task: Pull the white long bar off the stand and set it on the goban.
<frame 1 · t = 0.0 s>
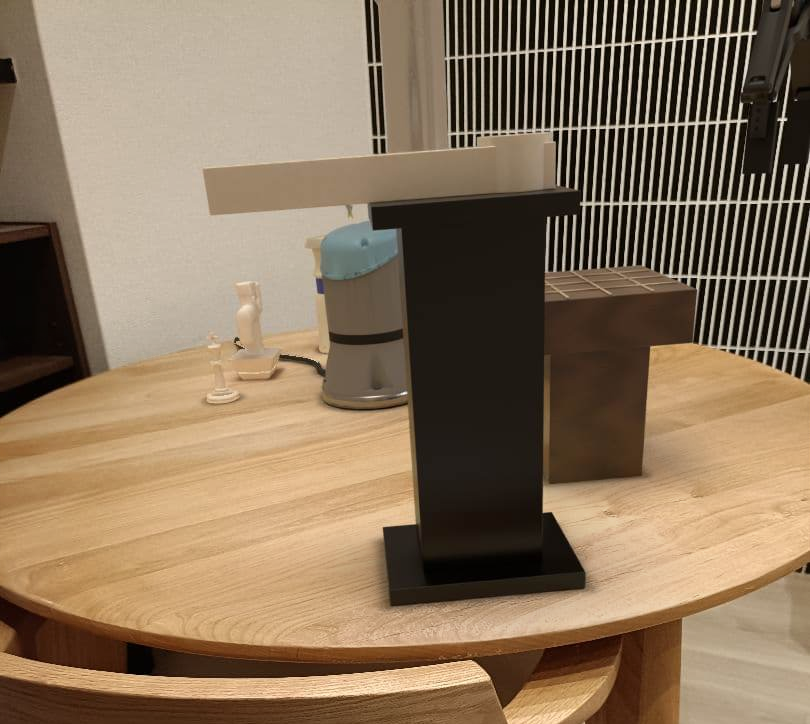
hand: (776, 169, 89), 28 cm above the table, tool pointing down, fingers open, 13 cm apart
white long bar: (382, 200, 58), point 30 cm above the table, touching stand
goban: (583, 463, 91), on the table
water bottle: (340, 349, 149), on the table
stand: (477, 562, 72), on the table
figurine: (259, 376, 135), on the table
chess piece: (223, 400, 124), on the table
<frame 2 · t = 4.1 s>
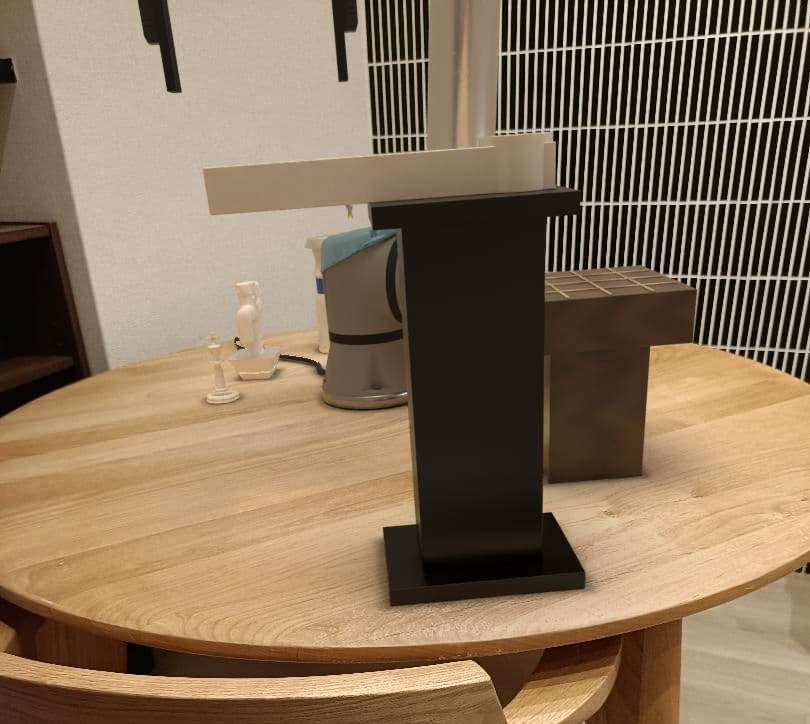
hand: (259, 87, 66), 38 cm above the table, tool pointing down, fingers open, 13 cm apart
nothing on the table moved.
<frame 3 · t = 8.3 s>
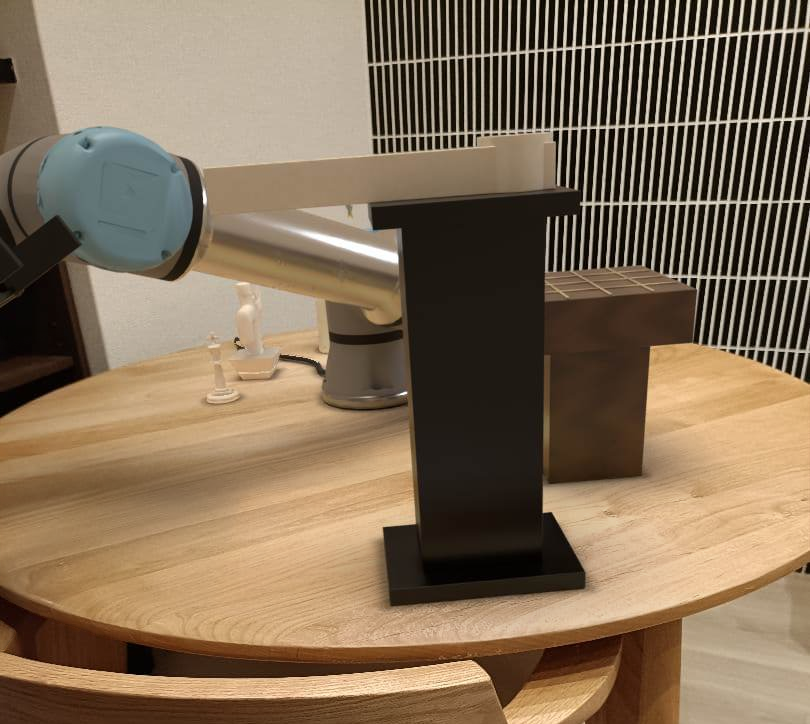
hand: (41, 237, 59), 29 cm above the table, tool pointing upward, fingers open, 13 cm apart
nothing on the table moved.
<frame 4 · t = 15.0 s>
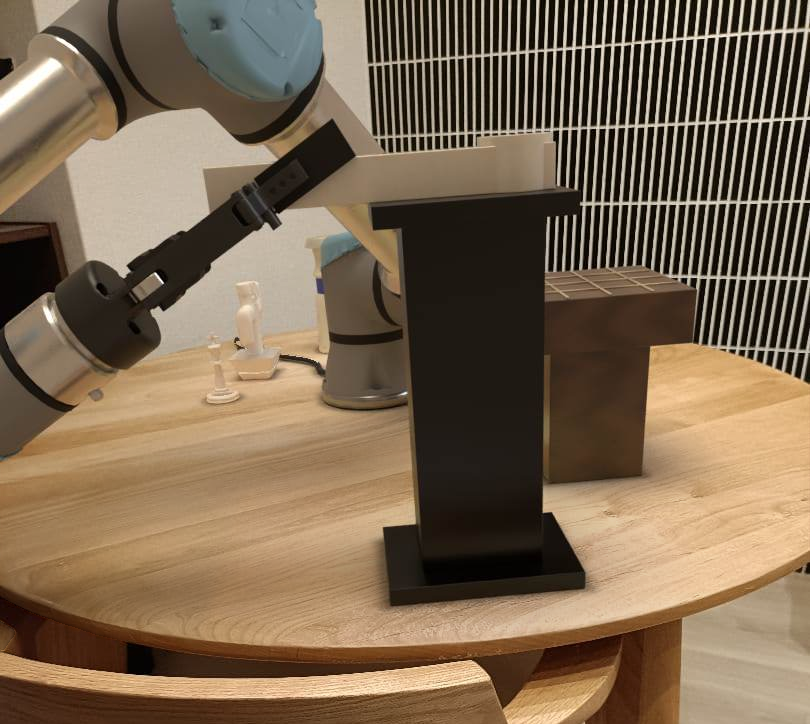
hand: (343, 137, 56), 34 cm above the table, tool pointing upward, fingers closed on white long bar, 4 cm apart
white long bar: (382, 200, 58), point 30 cm above the table, touching gripper, stand
everything else where it was.
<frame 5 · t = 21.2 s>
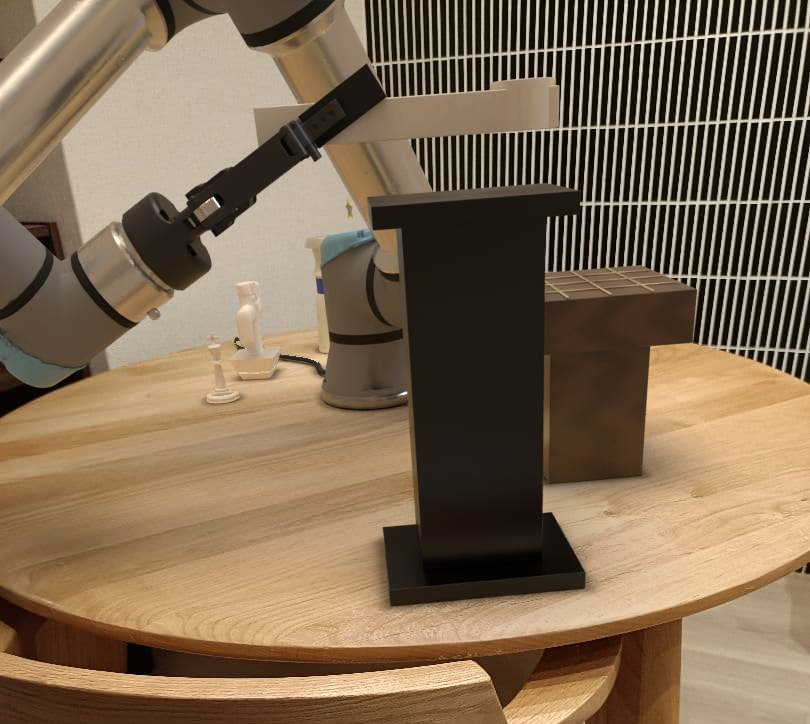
hand: (375, 82, 65), 38 cm above the table, tool pointing upward, fingers closed on white long bar, 4 cm apart
white long bar: (407, 138, 67), point 34 cm above the table, touching gripper
everything else where it was.
when the fingers open (24 cm above the table, at t = 27.5 s): white long bar stays where it is, resting on goban.
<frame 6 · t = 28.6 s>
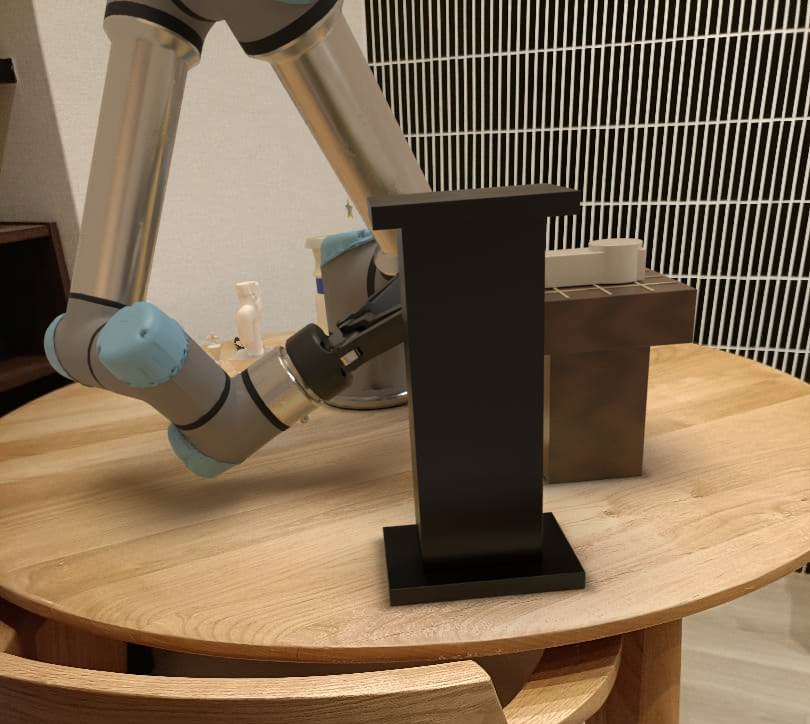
hand: (477, 251, 80), 23 cm above the table, tool pointing upward, fingers open, 13 cm apart
white long bar: (520, 286, 82), point 20 cm above the table, touching goban
everything else where it was.
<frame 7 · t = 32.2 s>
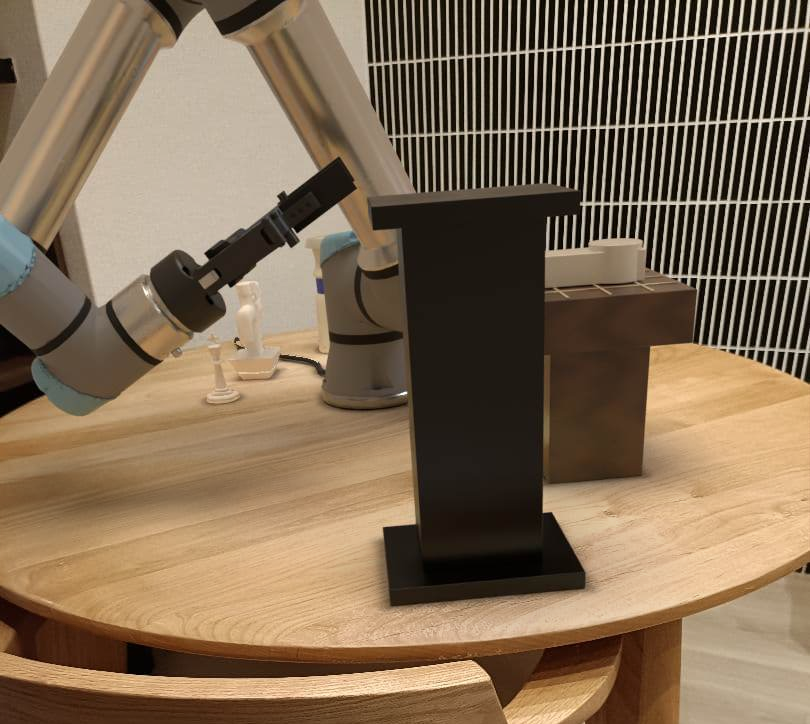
hand: (348, 170, 76), 31 cm above the table, tool pointing upward, fingers open, 13 cm apart
nothing on the table moved.
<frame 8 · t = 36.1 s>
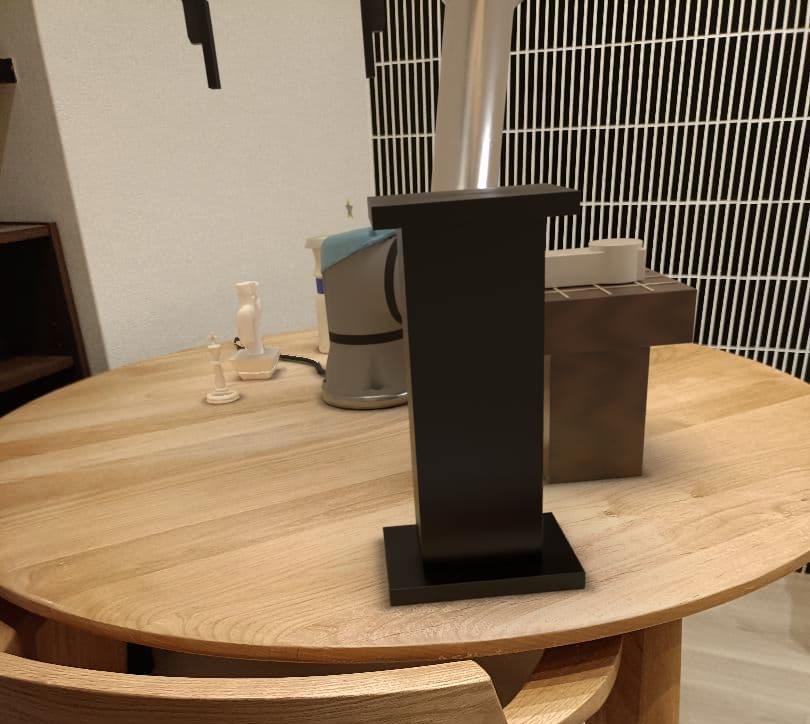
hand: (293, 83, 71), 39 cm above the table, tool pointing down, fingers open, 13 cm apart
nothing on the table moved.
at the end: white long bar inside the target area on the goban (0.3 cm from its centre), point 19.6 cm above the goban's base; white long bar touching goban; the gripper is holding nothing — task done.
